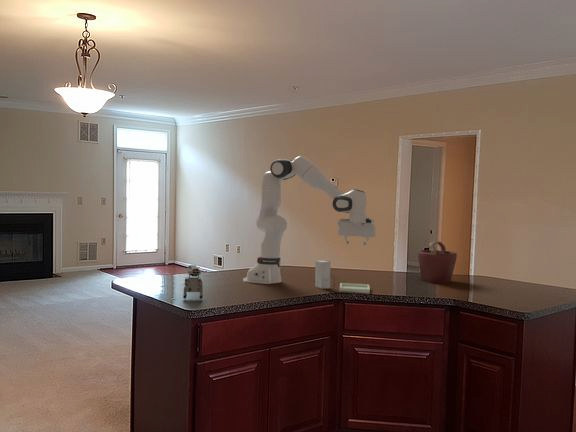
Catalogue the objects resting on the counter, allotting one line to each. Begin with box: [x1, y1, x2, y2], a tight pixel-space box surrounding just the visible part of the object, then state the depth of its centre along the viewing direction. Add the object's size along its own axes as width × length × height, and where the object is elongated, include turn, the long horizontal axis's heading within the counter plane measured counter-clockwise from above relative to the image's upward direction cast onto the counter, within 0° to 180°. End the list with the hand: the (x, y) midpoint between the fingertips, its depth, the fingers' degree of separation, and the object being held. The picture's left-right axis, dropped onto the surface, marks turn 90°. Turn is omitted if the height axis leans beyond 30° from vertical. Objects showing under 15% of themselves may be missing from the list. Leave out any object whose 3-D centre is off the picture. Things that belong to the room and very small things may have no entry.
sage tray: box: [338, 282, 371, 295], centre depth 288 cm, size 16×16×2 cm
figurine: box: [182, 264, 204, 299], centre depth 254 cm, size 9×12×15 cm
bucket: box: [417, 240, 458, 285], centre depth 327 cm, size 24×22×25 cm
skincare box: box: [314, 260, 331, 290], centre depth 293 cm, size 8×6×15 cm
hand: (356, 244), depth 287 cm, fingers open, 8 cm apart
